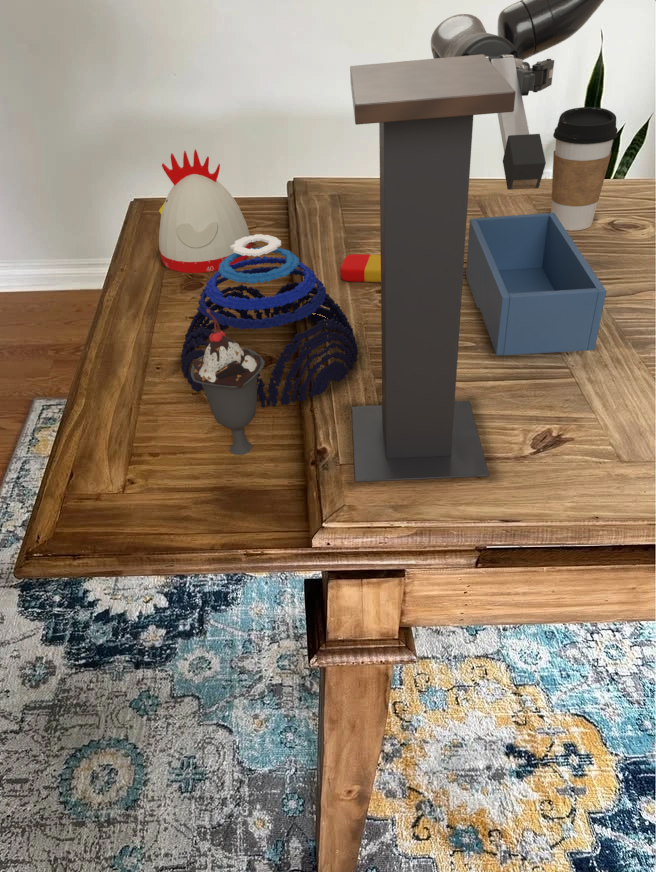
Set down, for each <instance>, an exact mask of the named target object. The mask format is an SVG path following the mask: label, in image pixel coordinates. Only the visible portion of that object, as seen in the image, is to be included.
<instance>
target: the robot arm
mask: <svg viewBox="0 0 656 872" xmlns="http://www.w3.org/2000/svg"><path fill="white" fill-rule="evenodd" d="M604 1H605V0H518V1H516V2H515V3H512V4H510V5H508V6H506V7H504V8H503V9H502V10H501V11H500V13H499V14H498V18H497V34H493V33H489V32H487V30H486V28H485V26H484V24H483V22H482V20H481V19H479V17H478V16H476V15H473V14H469V13H459V14H455V15H452V16H450V17H448V18H447V17H446V19H444V20H443V21H441V22H440V23H439V24H438V25H437V26H436V28H434V30H433V32H432V35H431V37H430V50H431V54H432V59H436V58H447V57H458V56H470V55H481V54H484V55H485V56H486V58H487V59H488V60H489V61H490V62H491V60H492V59H501V58H514V59H515V64H516V69H517V74H518V79H519V84H520V89H521V94H522V97H527V96H529V93H530V92H532V93H538V92H541V91H543V90H544V89H547V88H549V87H551V86H552V83H553V77H554V76H553V75H554V67H555V59H552V58H546V60H545V59H544V60H542V61H539V60H538V61H536V63H534V64H532V66H531V65H530V63H529V62H527V61H524V60H526V59H529V58H531V57H533V56H535V55H537V54H539V53H542V52H544V51H546V50H549V49H551V48H553V47H555V46H557V45H559V44H561V43H563V42H565V41H567V40H568V39H569V38H571V37H572V36H573V35H575V34H576V33H577V32H579V30H580V29H581V28H583V27H584V25H585V24H586V23H587V22H588V21H589V20H590V18H591V17H592V16H593V15H594V14H595V13H596V11H597V10H598V9H599V7H600V6H601V5H602V4H603V3H604ZM654 1H655V2H656V0H654Z"/></svg>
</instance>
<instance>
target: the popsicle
mask: <svg viewBox="0 0 656 872" xmlns="http://www.w3.org/2000/svg"><path fill="white" fill-rule="evenodd" d="M339 272H340V278H341V280H343V281H344V282H350V283H357V282H358V283H381V254H369V253H368V254H367V253H363V254H360V253H354V254H353V253H351V254H348V255H347V256H345V257H344V259H343V261H342V264H341V266H340V271H339Z"/></svg>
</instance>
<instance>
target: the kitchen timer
mask: <svg viewBox="0 0 656 872" xmlns="http://www.w3.org/2000/svg"><path fill="white" fill-rule="evenodd" d="M209 163H210V157H209V156H206V158H205V161H204V163H203V165H202V164H201V161H200V157H199V153H198V151H197V149H196V148H195V149H194V151H193V164H192V165H191V163H190V160H189V157H188V154H187V151H186V150H183V159H182V167H181V166H180V165H179V163H178V161H177V159H176V157H175V155H174V153H173V152H171V153H170V164H171V169H170V168H169V167H168V166H167V165H166V164H165V163H164V162H162V164H161V167H162V169H163V171H164V173H165V175H166V176H167V177H168V179H169V181H170V182H171V183H172V184H173V186H172V187H171V189H170V190H169V192H168V194H167V196H166V198H165V201H164V202H163V204H162V206H160V208H159V209H158V212H159V214H160V221H159V222H160V223H159V232H158V248H159V255H160V259H161V262H162V264H163V266H164V267H166V268H167V269H169V270H171V271H175V272H179V273H188V274H203V273H204V274H205V273H210V272H218V271H219V270H218V269H219V265H220V263H222V261H224V259H225V258H227V257H228V256H229V255H231V254H233V253H234V252H233V250H234V249H231V247H230V246H231V245H233V244H234V243H235V241H236V240H239V239H241V238H243V237H245V236H246V237H248V236H251V233H250V229H249V225H247V221H246V219H245V217H244V214H243V212H242V210H241V208H240V206H239V204H238V202H237V201H236V199H235V198H234V197H233V195H232V194H231V193H230V191H229V190H228V189H227V188H226V187H225V186H224V185H223V184H222V183H221V182H219V180H218V177H219V173H220V169H221V163H218V165H217V167H216V168H215V171H214V172H212V173H211V172H210V171H209V170H210V169H209V166H210V165H209ZM244 248H247V249H250V248H253V247H252V242H249V243H247V244H245V246H244ZM248 257H249V256H247V255H245V256H241V257H238V258H236V259H234V261H233V262H231V263H230V264H231V265H233V264H235V263H237V262H240V261H242V260H244V261H245V260H247V259H248ZM230 264H229V265H230Z"/></svg>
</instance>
